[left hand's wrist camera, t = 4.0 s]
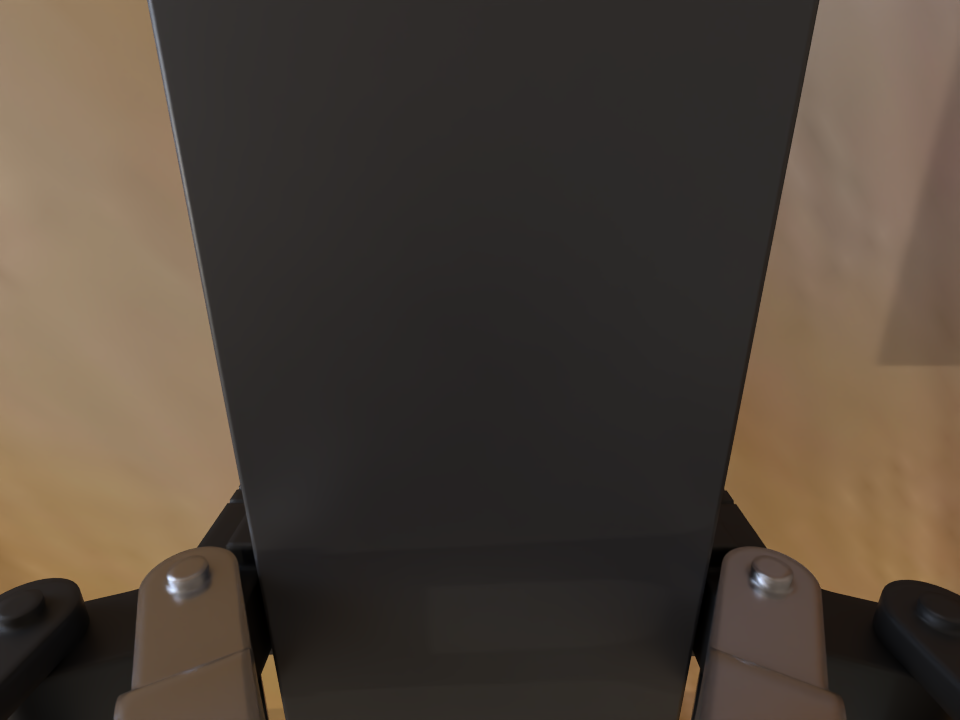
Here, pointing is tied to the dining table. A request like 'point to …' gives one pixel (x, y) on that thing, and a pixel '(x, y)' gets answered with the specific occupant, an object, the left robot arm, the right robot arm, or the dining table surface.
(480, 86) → the box
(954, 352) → the dining table surface
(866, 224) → the dining table surface
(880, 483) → the dining table surface
